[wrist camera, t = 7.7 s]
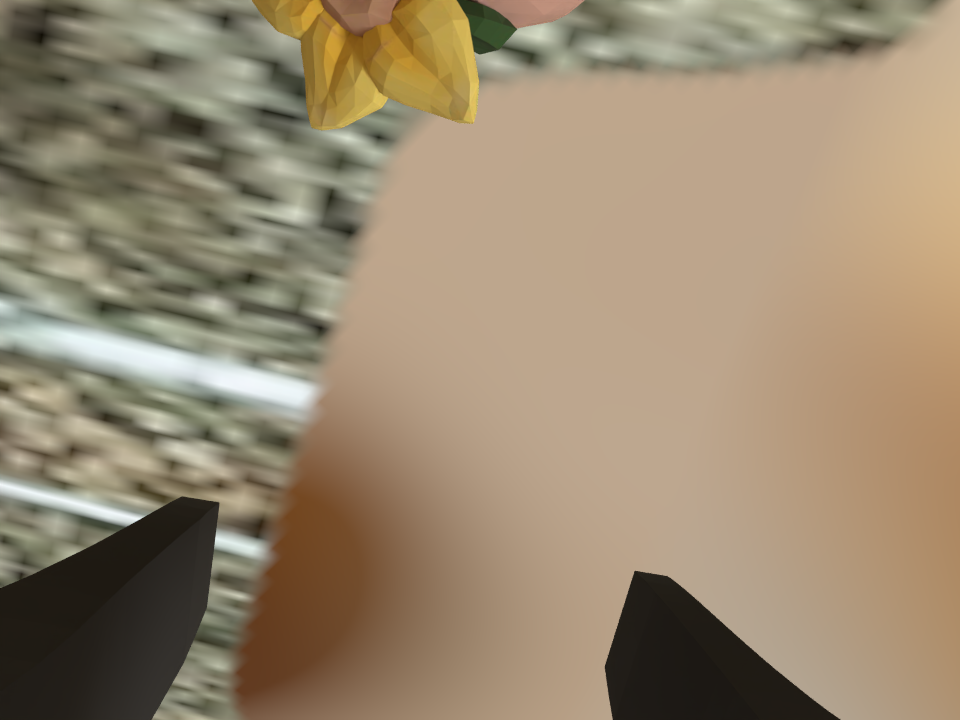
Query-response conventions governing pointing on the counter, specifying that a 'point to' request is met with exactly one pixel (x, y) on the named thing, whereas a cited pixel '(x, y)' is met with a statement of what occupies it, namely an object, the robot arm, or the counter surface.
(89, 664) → the robot arm
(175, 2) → the counter surface
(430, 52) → the figurine
